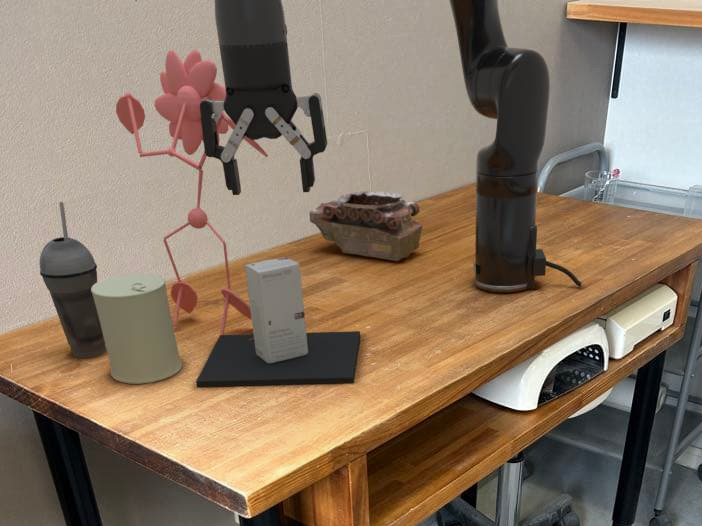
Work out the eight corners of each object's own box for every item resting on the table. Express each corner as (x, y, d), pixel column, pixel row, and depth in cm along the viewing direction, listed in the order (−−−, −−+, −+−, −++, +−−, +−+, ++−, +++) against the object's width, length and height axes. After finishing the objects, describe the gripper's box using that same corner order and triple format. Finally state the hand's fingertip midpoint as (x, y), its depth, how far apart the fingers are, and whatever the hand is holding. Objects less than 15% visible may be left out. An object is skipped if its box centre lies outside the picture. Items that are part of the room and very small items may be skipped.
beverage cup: (69, 343, 123) (30, 197, 112) (120, 340, 123) (87, 194, 112) (56, 363, 117) (14, 211, 106) (110, 360, 117) (74, 208, 106)
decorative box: (382, 273, 145) (379, 213, 140) (296, 255, 155) (290, 199, 150) (427, 253, 154) (426, 197, 148) (343, 238, 164) (339, 184, 158)
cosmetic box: (269, 365, 112) (257, 272, 105) (254, 355, 115) (241, 264, 108) (310, 354, 114) (301, 263, 108) (295, 344, 118) (285, 255, 111)
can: (138, 390, 109) (116, 297, 102) (97, 372, 114) (74, 283, 107) (196, 366, 114) (179, 277, 107) (155, 351, 119) (136, 264, 113)
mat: (360, 336, 121) (360, 330, 121) (353, 383, 108) (353, 377, 108) (220, 340, 122) (219, 334, 122) (196, 387, 109) (195, 381, 108)
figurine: (264, 345, 117) (227, 51, 99) (130, 321, 129) (75, 54, 110) (329, 314, 128) (306, 44, 110) (200, 294, 140) (160, 48, 121)
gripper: (181, 45, 92) (208, 202, 101) (313, 38, 91) (327, 197, 101) (196, 38, 98) (219, 187, 107) (319, 32, 97) (332, 182, 107)
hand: (272, 192), depth 104 cm, fingers open, 8 cm apart
